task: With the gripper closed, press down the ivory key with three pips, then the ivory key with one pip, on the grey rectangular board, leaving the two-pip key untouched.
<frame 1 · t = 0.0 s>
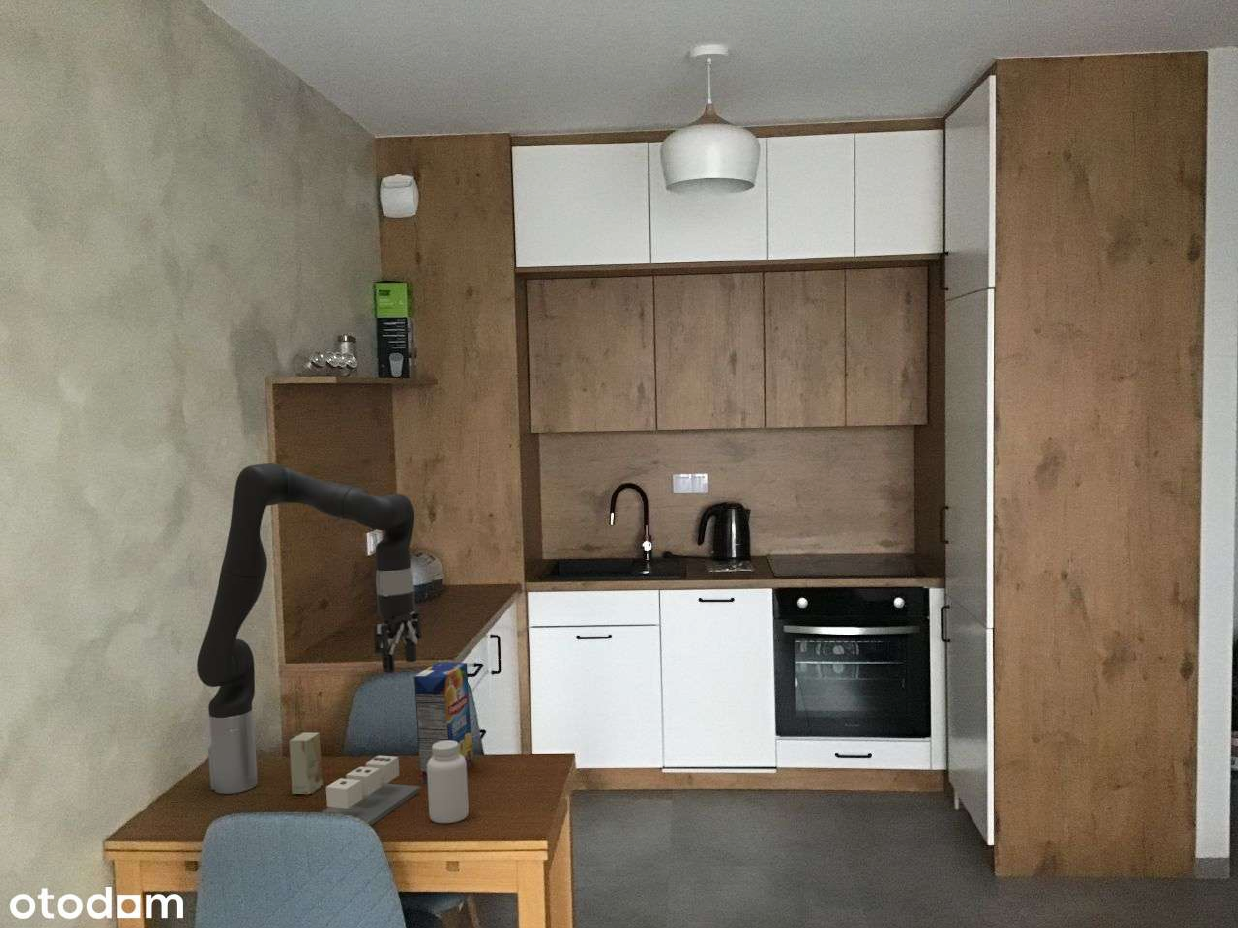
hand: (400, 666, 216), 29 cm above the table, fingers open, 8 cm apart
key 3: (382, 768, 223), point 6 cm above the table, slide at 0.0 cm
grey rectangular board: (365, 807, 217), on the table
key 1: (344, 792, 210), point 6 cm above the table, slide at 0.0 cm
pill bottle: (449, 817, 210), on the table
skincare box: (308, 791, 229), on the table
key 2: (363, 780, 216), point 6 cm above the table, slide at 0.0 cm
juice carton: (447, 774, 235), on the table
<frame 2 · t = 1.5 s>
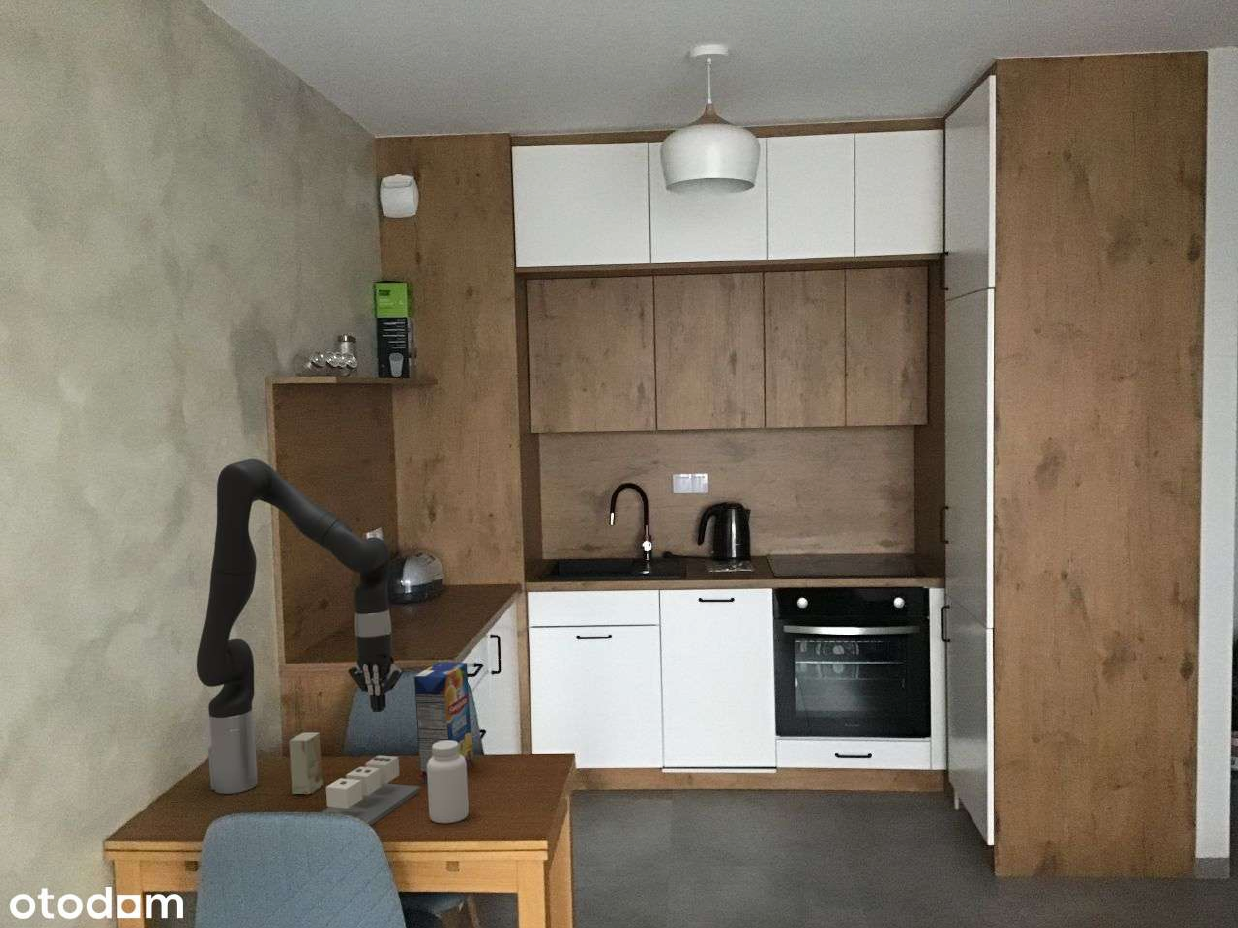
hand: (378, 710, 222), 19 cm above the table, fingers closed
nothing on the table moved.
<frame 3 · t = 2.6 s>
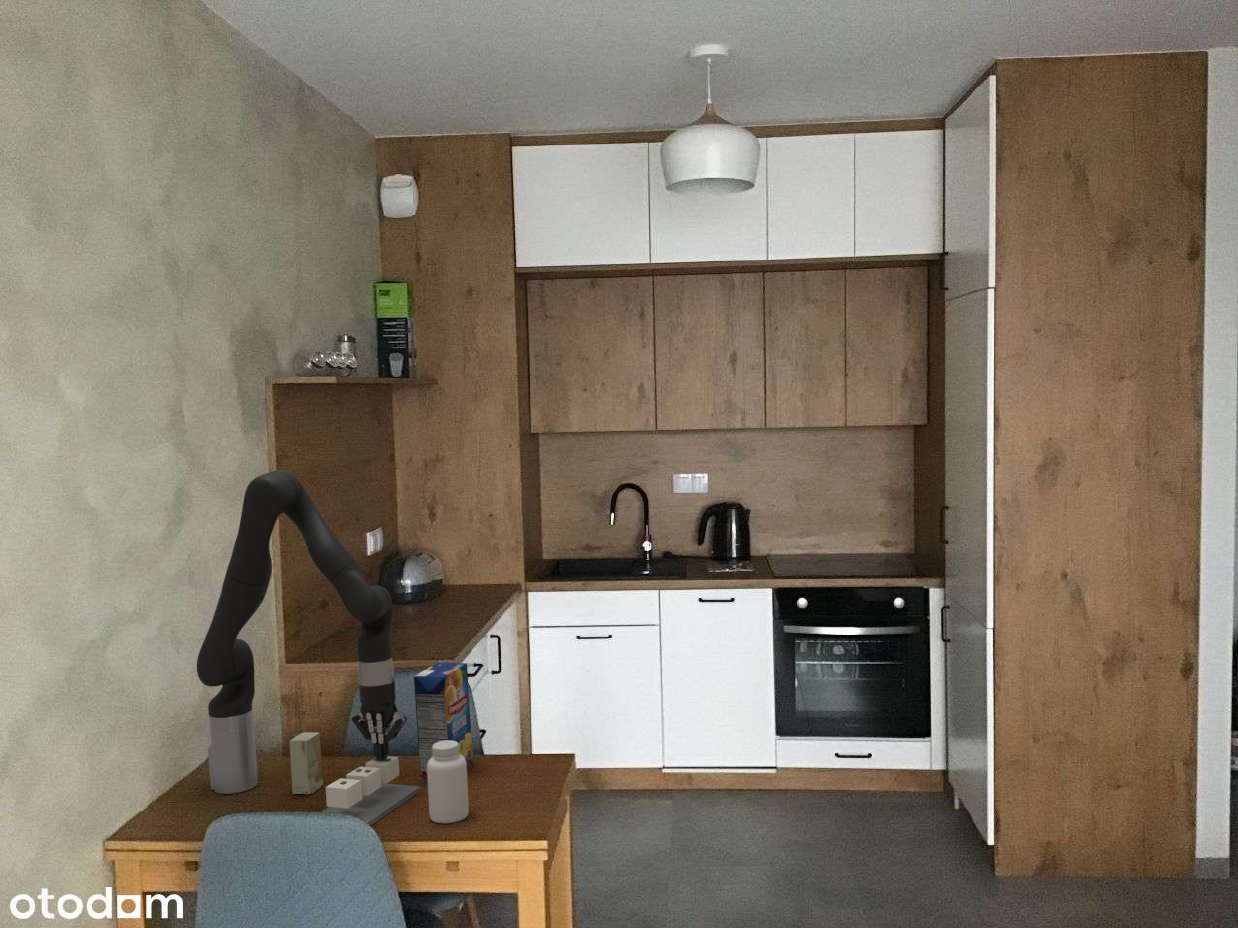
hand: (382, 758, 223), 8 cm above the table, fingers closed
key 3: (382, 768, 223), point 6 cm above the table, slide at 0.0 cm, touching gripper
everything else where it was.
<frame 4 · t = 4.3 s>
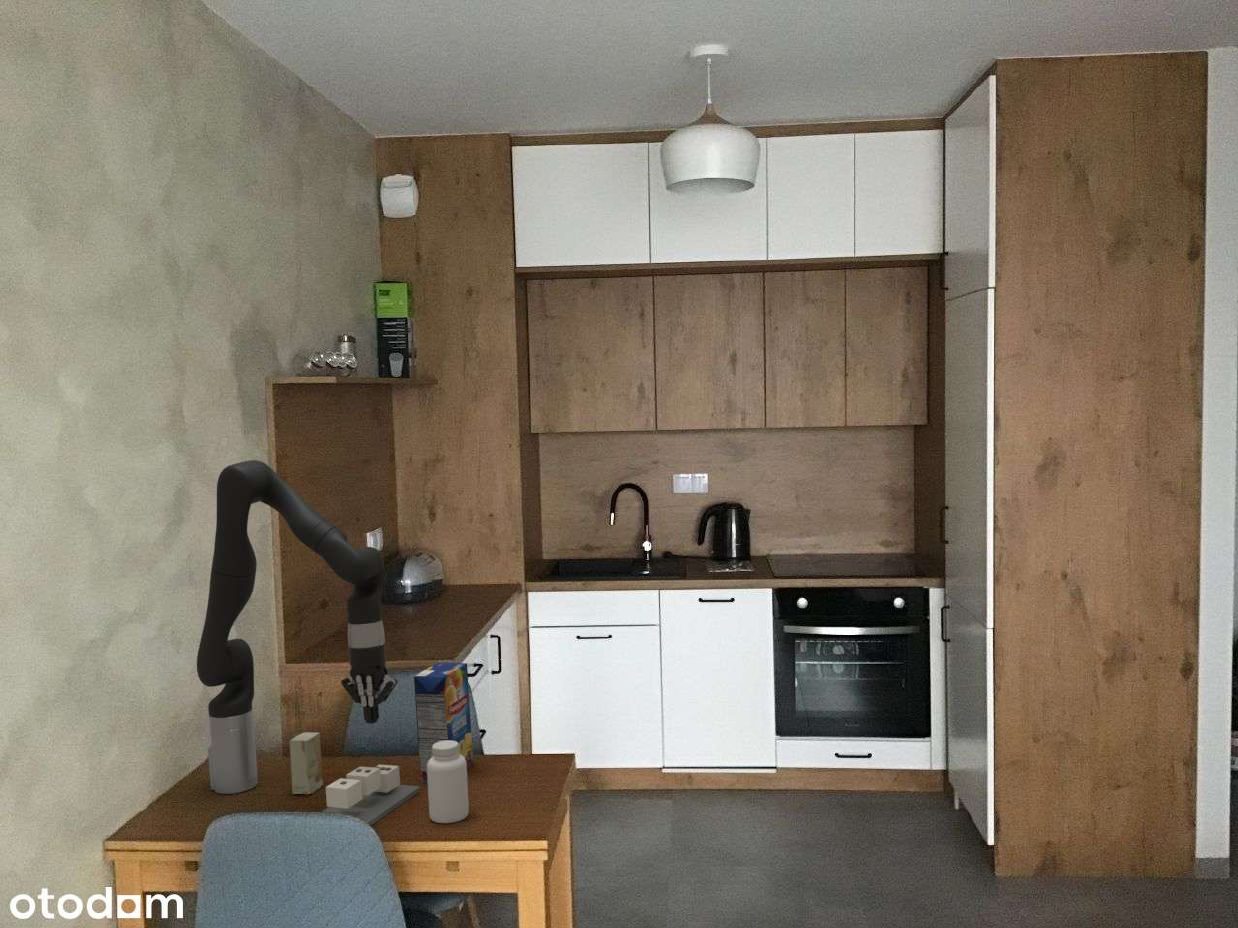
hand: (371, 722, 220), 17 cm above the table, fingers closed
key 3: (383, 777, 223), point 4 cm above the table, slide at 2.0 cm
everything else where it was.
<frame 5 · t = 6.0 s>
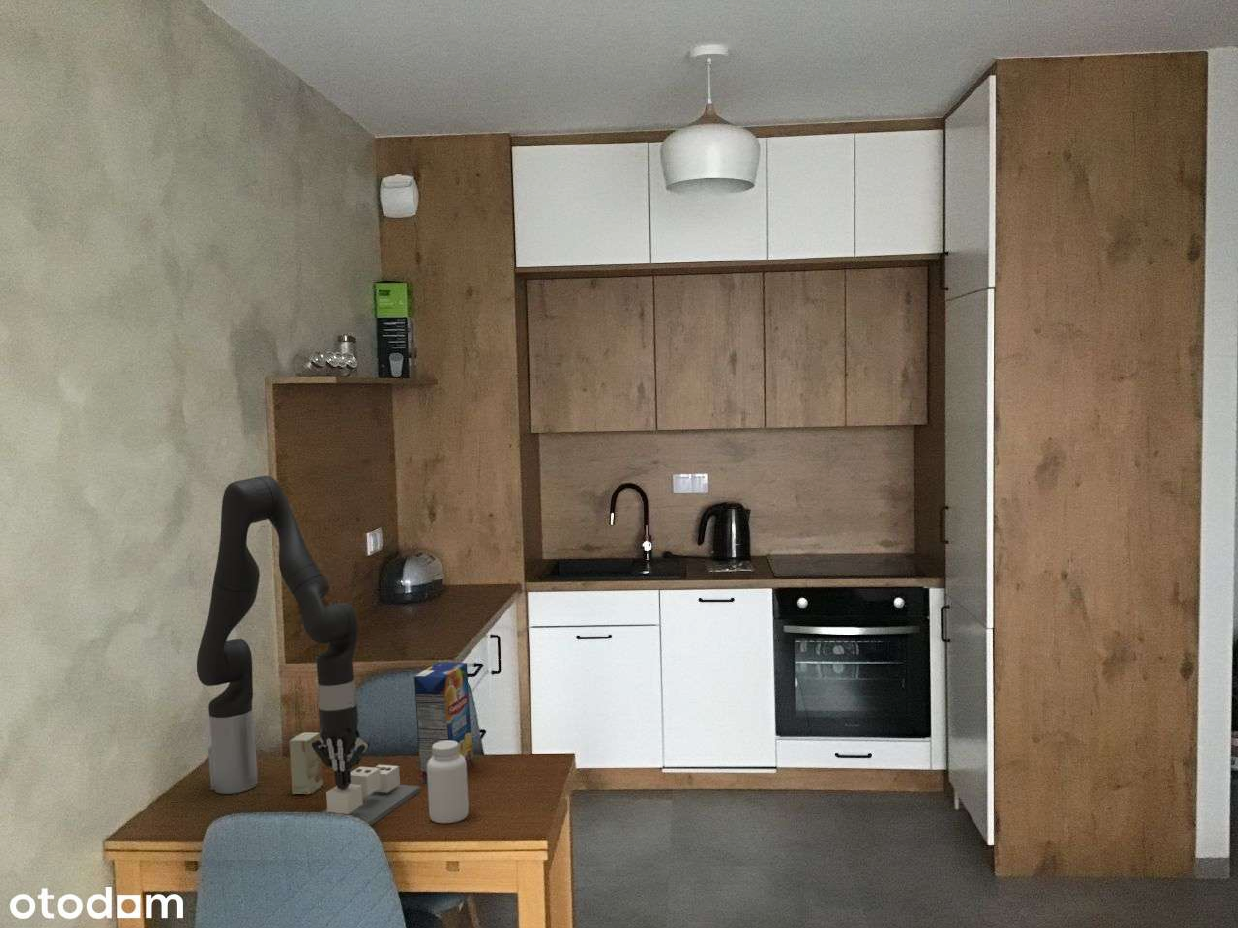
hand: (343, 787, 210), 7 cm above the table, fingers closed
key 1: (344, 797, 210), point 5 cm above the table, slide at 1.1 cm, touching gripper
everything else where it was.
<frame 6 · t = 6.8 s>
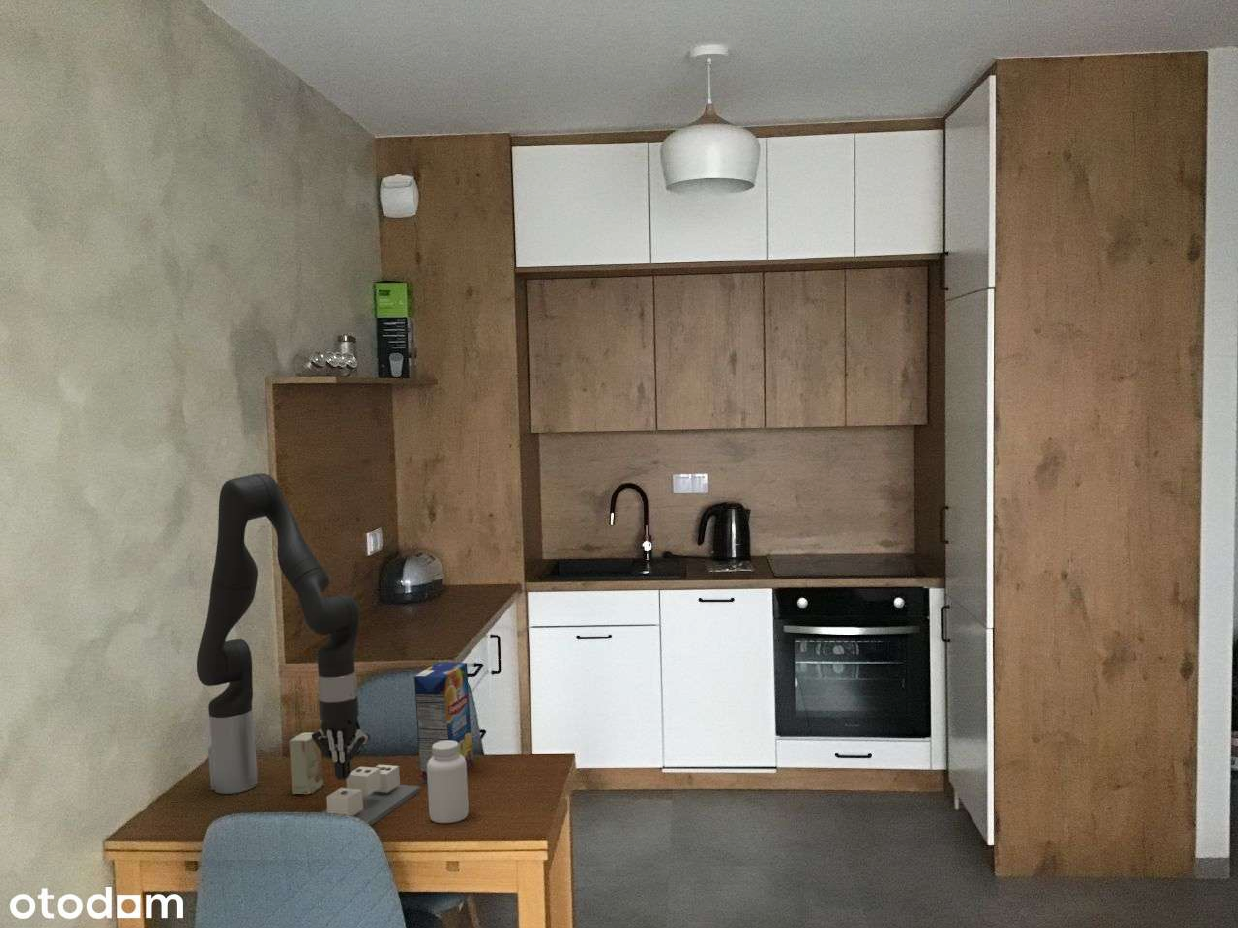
hand: (343, 778, 210), 9 cm above the table, fingers closed
key 1: (344, 802, 210), point 4 cm above the table, slide at 2.0 cm
everything else where it was.
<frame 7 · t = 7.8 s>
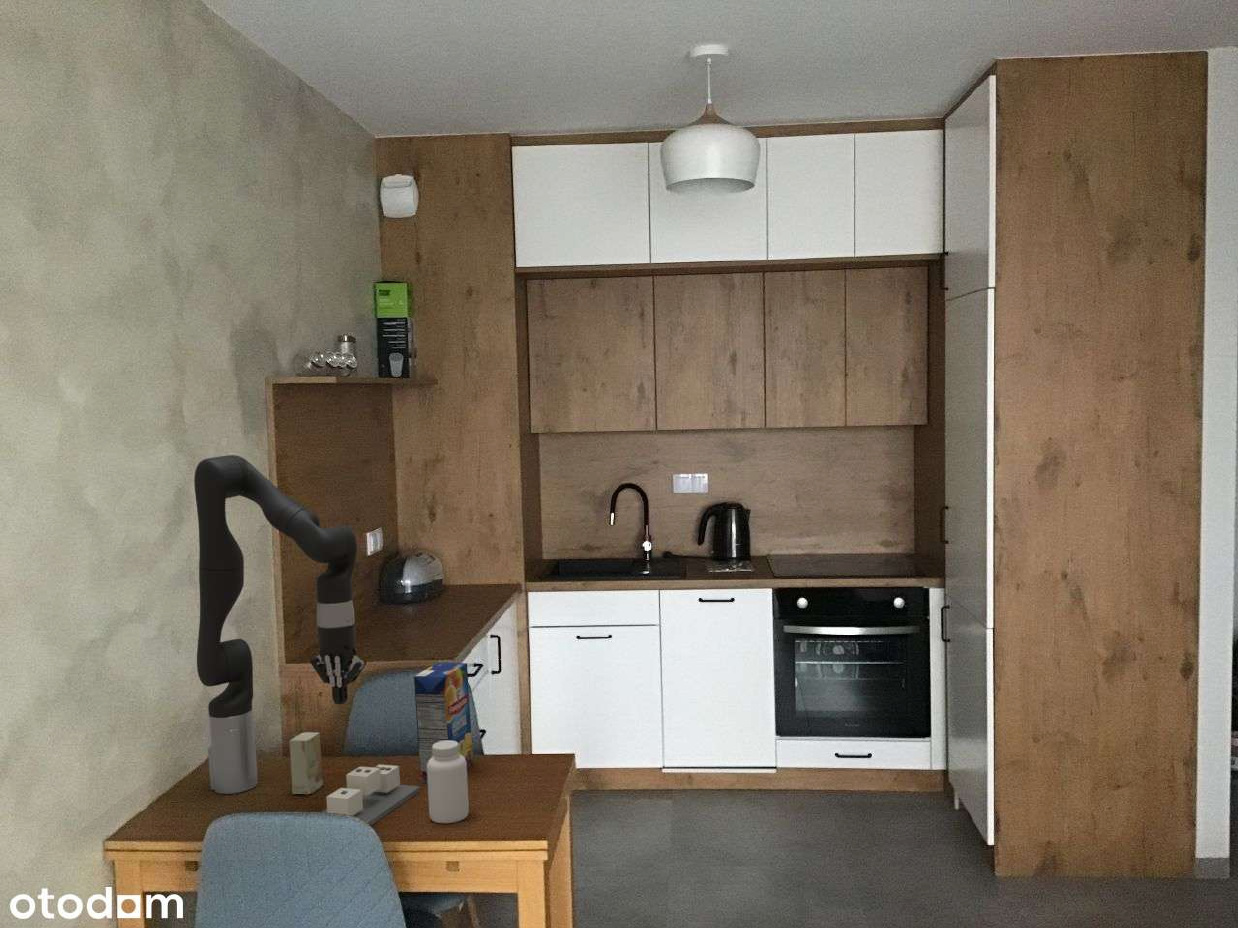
hand: (340, 702, 217), 22 cm above the table, fingers closed
nothing on the table moved.
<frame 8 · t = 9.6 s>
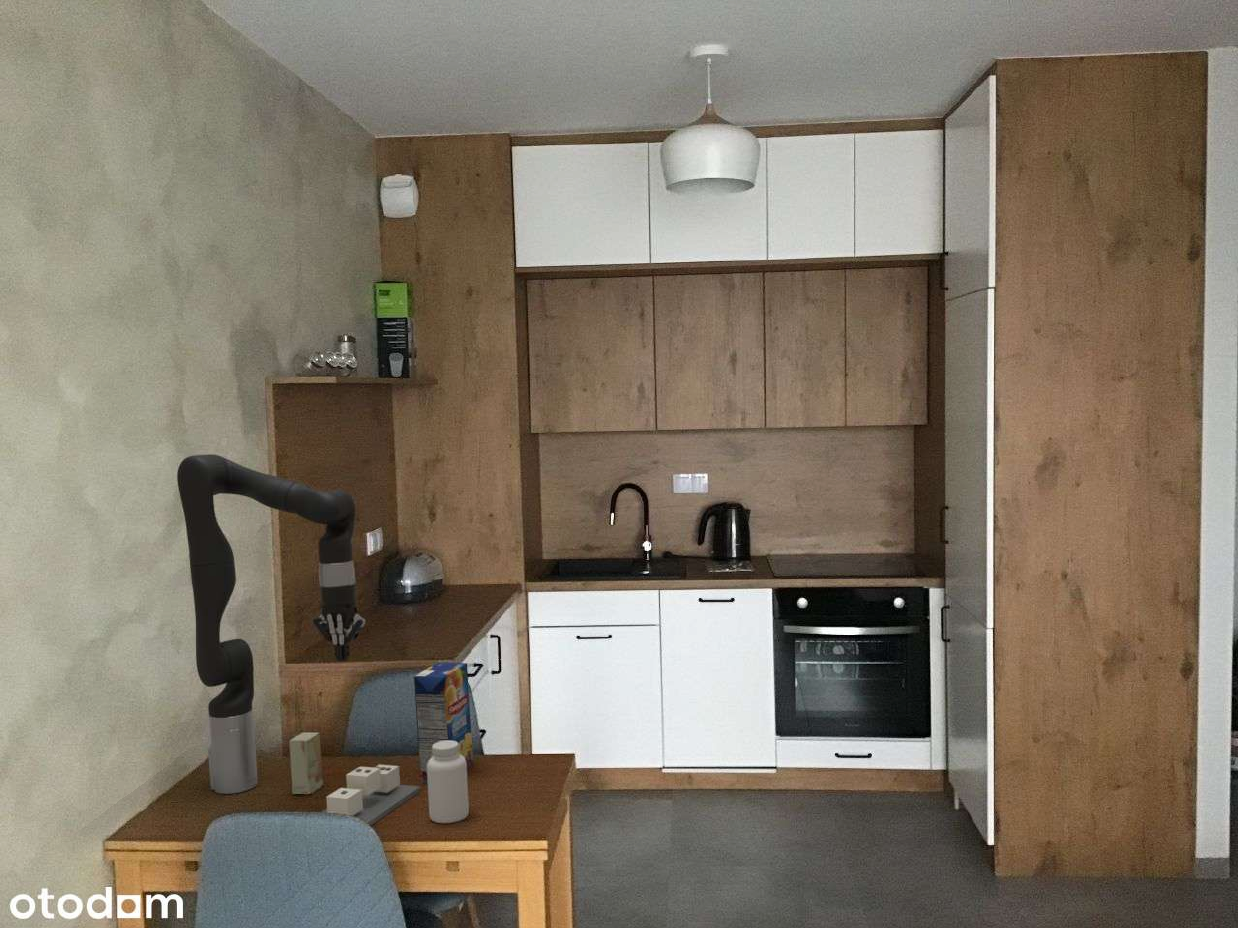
hand: (342, 660, 226), 29 cm above the table, fingers closed
nothing on the table moved.
at the end: key 3 slide at 2.0 cm; key 1 slide at 2.0 cm; key 2 slide at 0.0 cm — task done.
